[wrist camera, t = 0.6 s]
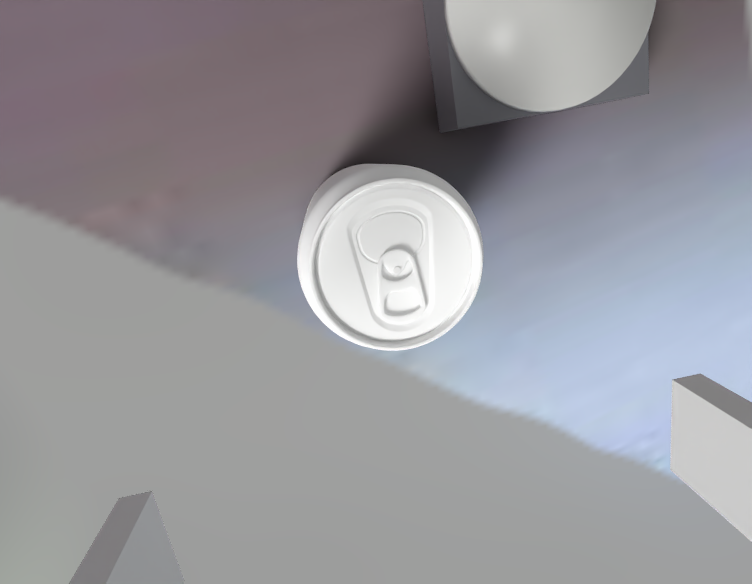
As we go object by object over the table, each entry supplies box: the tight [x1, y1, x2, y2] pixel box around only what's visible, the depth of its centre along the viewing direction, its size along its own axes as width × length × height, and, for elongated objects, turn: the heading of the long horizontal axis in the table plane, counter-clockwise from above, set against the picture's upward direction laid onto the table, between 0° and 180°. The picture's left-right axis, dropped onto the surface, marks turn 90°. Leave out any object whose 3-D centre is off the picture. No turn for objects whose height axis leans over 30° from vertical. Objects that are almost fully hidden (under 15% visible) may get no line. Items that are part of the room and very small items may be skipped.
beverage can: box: [297, 164, 483, 350], centre depth 25 cm, size 8×8×12 cm
